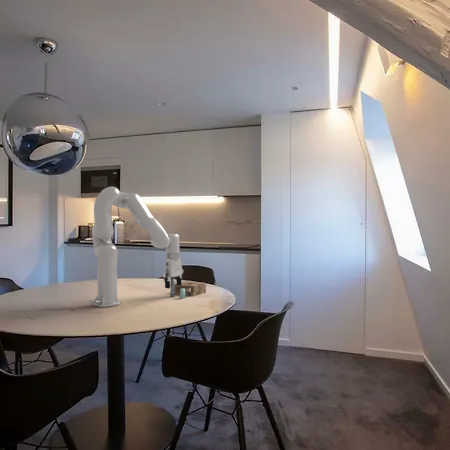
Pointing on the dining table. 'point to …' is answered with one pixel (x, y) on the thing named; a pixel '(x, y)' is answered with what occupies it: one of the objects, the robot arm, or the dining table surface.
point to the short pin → (182, 293)
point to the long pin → (172, 286)
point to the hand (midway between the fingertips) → (173, 286)
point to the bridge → (195, 287)
